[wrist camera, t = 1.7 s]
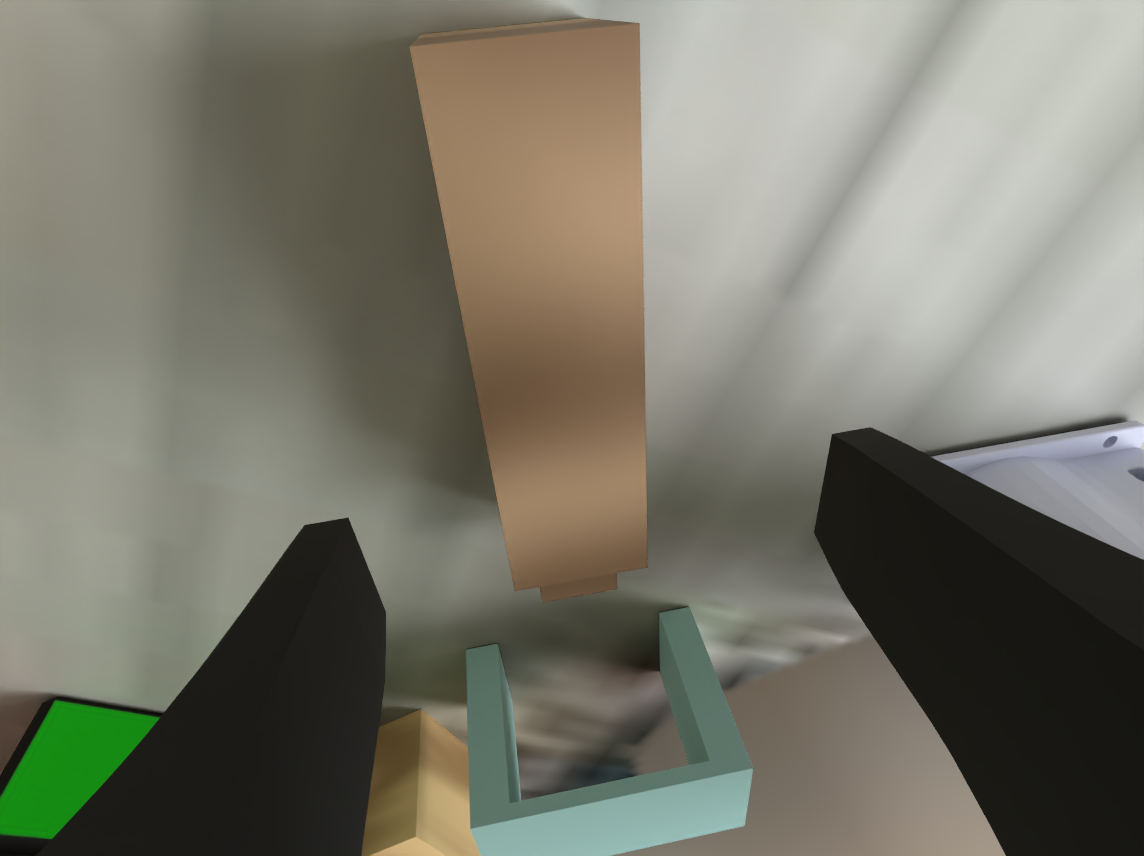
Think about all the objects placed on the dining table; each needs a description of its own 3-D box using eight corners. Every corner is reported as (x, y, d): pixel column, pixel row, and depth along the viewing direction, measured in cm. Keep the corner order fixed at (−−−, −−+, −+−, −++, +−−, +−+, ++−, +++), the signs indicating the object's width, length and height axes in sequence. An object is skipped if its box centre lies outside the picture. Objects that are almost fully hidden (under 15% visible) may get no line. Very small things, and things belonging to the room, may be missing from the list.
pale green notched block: (465, 649, 25) (470, 829, 19) (689, 606, 25) (753, 768, 20) (483, 707, 27) (491, 881, 21) (687, 666, 28) (744, 825, 22)
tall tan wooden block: (421, 33, 13) (409, 46, 9) (582, 17, 14) (639, 23, 10) (508, 513, 21) (523, 635, 17) (610, 496, 22) (648, 611, 17)
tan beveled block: (421, 706, 26) (415, 836, 22) (481, 756, 29) (486, 880, 25) (320, 751, 27) (296, 885, 23) (388, 795, 30) (378, 922, 26)
